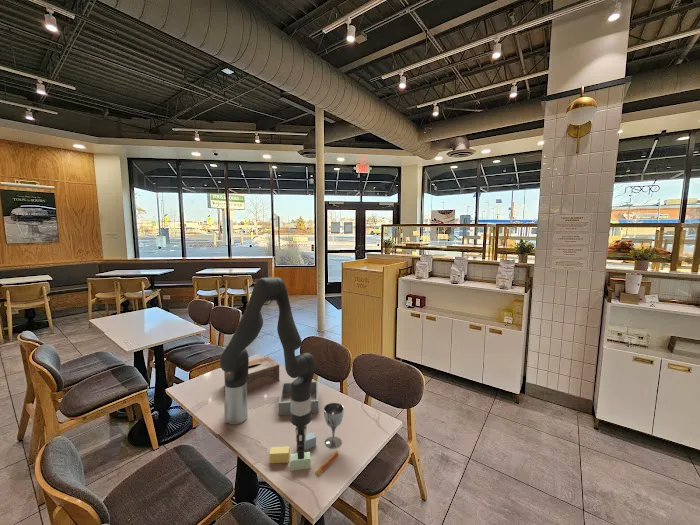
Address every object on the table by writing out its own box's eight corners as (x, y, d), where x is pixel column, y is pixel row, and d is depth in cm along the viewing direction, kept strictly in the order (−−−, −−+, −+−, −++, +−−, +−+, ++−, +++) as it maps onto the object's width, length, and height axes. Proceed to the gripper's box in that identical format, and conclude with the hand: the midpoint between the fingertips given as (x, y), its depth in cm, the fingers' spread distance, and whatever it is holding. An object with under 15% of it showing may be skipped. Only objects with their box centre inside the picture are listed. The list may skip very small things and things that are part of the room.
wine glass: (323, 436, 128) (324, 403, 126) (342, 435, 129) (343, 402, 127) (323, 449, 120) (324, 414, 119) (343, 448, 121) (344, 414, 119)
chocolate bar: (314, 473, 109) (314, 467, 109) (334, 453, 119) (334, 448, 119) (319, 477, 108) (319, 471, 108) (339, 456, 118) (339, 451, 117)
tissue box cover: (234, 396, 157) (234, 378, 156) (224, 385, 167) (224, 368, 166) (279, 381, 174) (279, 364, 172) (267, 371, 184) (267, 356, 183)
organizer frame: (278, 415, 142) (278, 403, 141) (282, 393, 160) (282, 382, 160) (318, 412, 144) (318, 400, 144) (317, 391, 163) (317, 381, 162)
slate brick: (299, 452, 119) (299, 442, 119) (296, 446, 122) (296, 437, 122) (316, 446, 122) (316, 437, 122) (312, 440, 125) (312, 432, 125)
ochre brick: (269, 463, 113) (269, 453, 113) (271, 456, 116) (270, 447, 116) (288, 462, 114) (288, 452, 113) (289, 455, 117) (289, 446, 117)
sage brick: (290, 471, 110) (290, 461, 109) (290, 463, 113) (290, 453, 113) (310, 468, 111) (310, 458, 111) (309, 461, 115) (309, 451, 114)
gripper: (291, 398, 116) (292, 437, 118) (289, 421, 102) (289, 465, 104) (311, 397, 117) (311, 436, 119) (311, 419, 103) (311, 463, 105)
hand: (301, 449), depth 111 cm, fingers open, 8 cm apart
